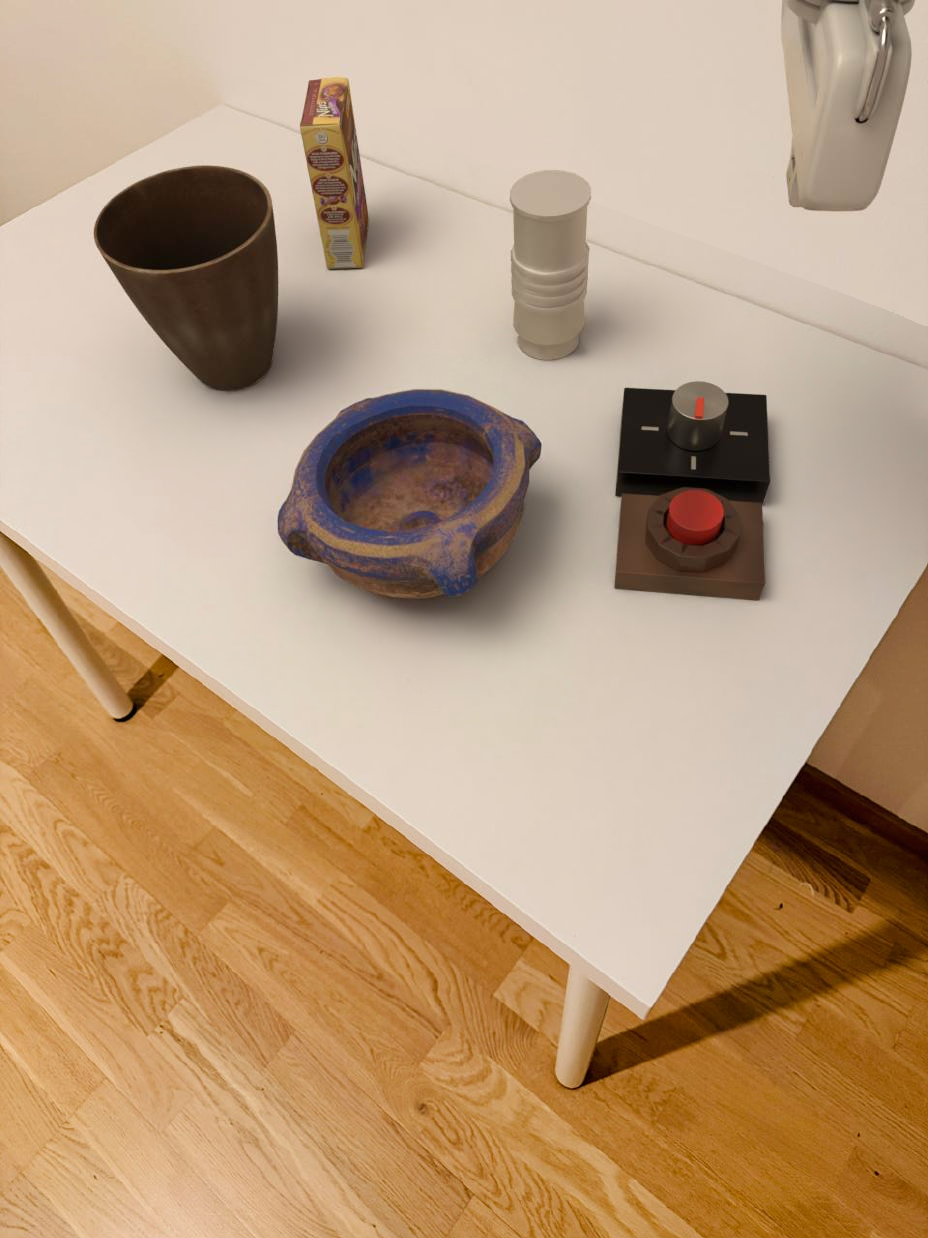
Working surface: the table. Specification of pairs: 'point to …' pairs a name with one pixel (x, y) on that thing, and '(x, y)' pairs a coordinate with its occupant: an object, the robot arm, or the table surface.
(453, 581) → the bowl
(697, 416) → the knob
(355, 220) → the candy box
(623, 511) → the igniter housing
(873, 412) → the table surface
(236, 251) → the flower pot
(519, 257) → the beige ribbed cylinder
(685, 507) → the igniter button
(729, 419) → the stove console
